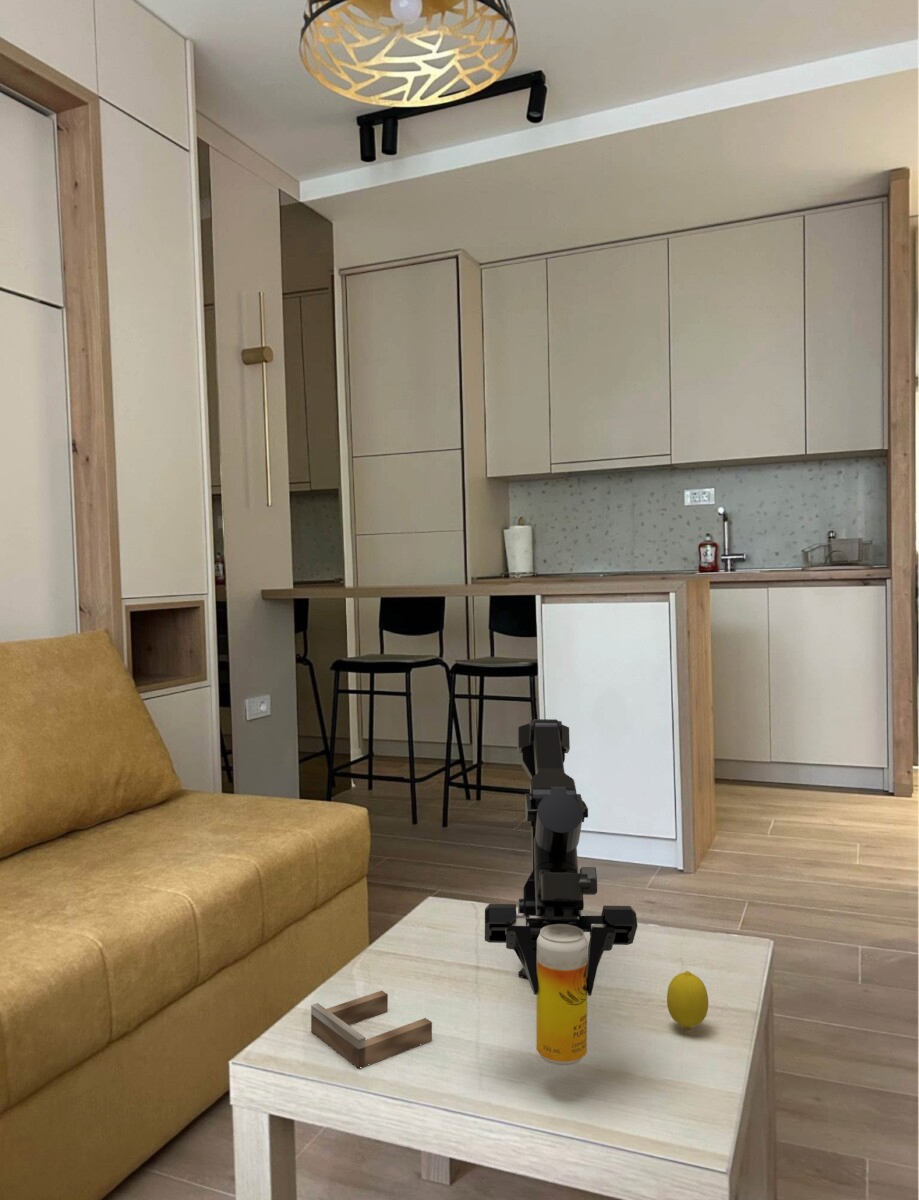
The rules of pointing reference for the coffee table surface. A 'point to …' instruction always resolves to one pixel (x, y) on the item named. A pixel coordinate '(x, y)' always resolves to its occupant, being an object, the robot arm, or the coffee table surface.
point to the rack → (352, 1044)
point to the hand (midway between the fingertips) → (562, 994)
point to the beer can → (561, 994)
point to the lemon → (687, 1000)
